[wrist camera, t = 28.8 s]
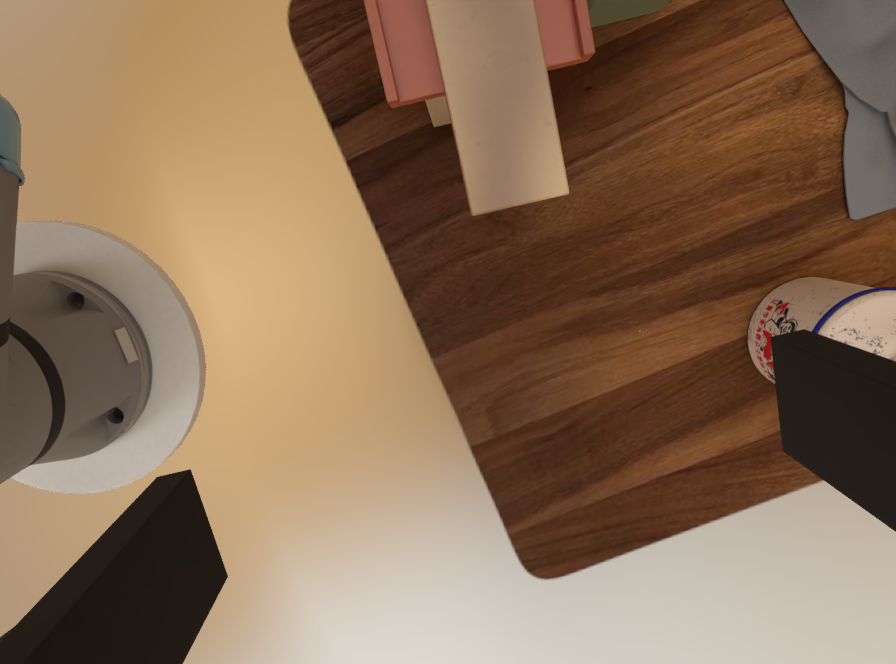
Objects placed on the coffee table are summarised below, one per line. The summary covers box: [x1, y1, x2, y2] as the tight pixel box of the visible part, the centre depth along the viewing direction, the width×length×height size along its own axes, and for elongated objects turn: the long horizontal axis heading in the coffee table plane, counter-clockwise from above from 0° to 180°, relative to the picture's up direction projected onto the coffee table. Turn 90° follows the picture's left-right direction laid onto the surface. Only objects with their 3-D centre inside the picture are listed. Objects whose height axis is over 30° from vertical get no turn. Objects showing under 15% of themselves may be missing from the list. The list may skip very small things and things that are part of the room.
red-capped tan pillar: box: [364, 0, 595, 127], centre depth 34 cm, size 9×8×19 cm
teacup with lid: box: [748, 277, 896, 383], centre depth 41 cm, size 12×9×12 cm
